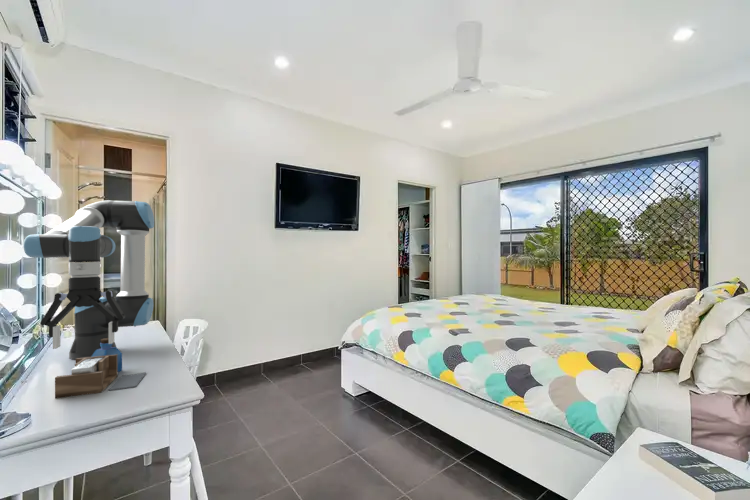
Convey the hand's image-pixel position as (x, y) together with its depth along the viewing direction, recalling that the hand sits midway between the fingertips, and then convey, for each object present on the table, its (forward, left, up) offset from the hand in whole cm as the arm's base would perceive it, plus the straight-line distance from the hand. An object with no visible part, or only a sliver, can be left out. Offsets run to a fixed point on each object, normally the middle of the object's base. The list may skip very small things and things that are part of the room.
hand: (84, 345), depth 105 cm
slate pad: (-3, +11, -14) cm, 17 cm away
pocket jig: (-2, 0, -14) cm, 14 cm away
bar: (-2, 0, -10) cm, 10 cm away
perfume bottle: (-15, +1, -14) cm, 21 cm away
